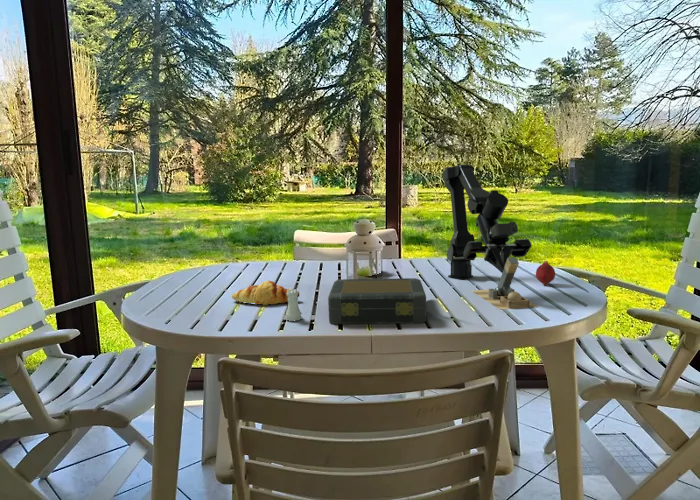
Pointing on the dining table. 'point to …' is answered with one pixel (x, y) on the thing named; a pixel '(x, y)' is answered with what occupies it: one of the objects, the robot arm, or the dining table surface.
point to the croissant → (263, 294)
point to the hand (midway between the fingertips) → (505, 273)
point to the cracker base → (503, 300)
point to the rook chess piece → (293, 306)
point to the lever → (507, 277)
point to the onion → (545, 273)
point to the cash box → (377, 301)
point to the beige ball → (514, 296)
